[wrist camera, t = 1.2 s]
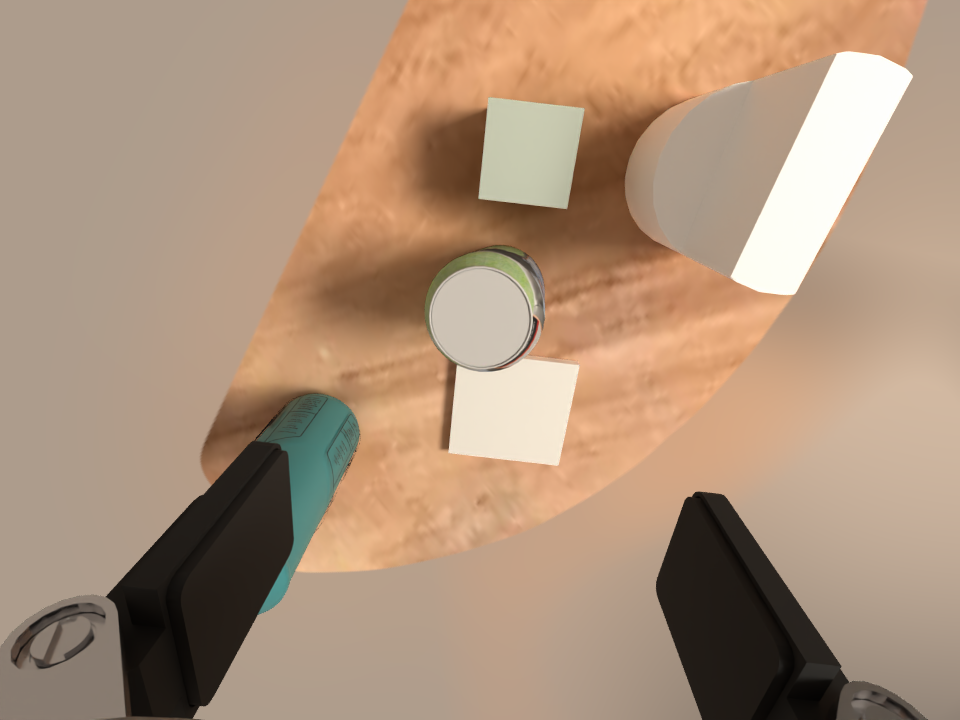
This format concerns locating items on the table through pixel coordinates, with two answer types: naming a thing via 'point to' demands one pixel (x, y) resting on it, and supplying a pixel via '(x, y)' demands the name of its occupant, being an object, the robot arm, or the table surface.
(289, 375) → the table surface
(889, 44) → the table surface
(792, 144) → the cylinder with rectangular tab
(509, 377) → the coaster
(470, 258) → the beverage can
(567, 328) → the table surface
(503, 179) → the sage block
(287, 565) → the beverage bottle
